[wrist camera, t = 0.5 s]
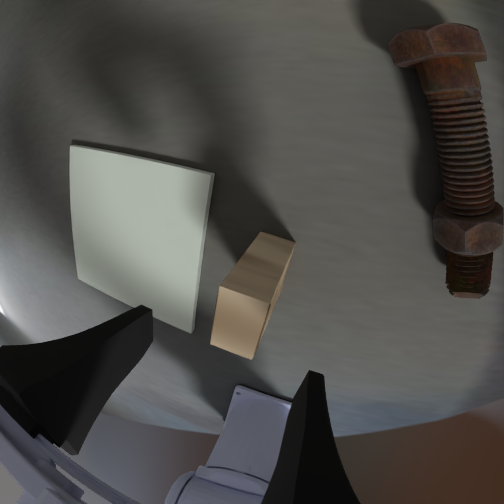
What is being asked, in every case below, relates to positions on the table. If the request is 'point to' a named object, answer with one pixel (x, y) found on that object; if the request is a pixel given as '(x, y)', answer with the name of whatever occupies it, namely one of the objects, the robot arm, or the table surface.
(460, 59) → the bolt
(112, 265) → the board
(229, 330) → the slab
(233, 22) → the table surface
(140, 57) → the table surface
